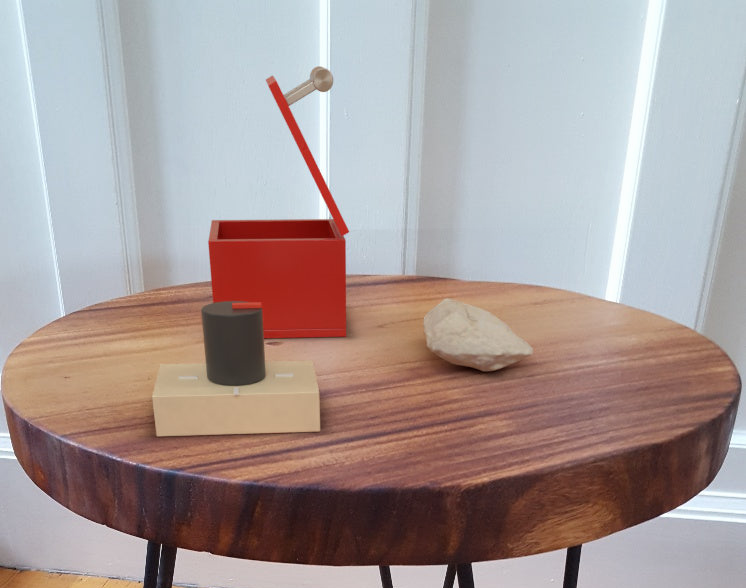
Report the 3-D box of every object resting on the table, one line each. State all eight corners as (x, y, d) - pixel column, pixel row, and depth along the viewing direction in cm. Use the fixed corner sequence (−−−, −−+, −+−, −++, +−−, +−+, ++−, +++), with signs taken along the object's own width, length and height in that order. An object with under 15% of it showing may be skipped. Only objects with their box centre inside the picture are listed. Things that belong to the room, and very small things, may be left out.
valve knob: (206, 386, 70) (199, 311, 67) (208, 368, 74) (201, 297, 71) (266, 384, 70) (262, 310, 68) (265, 367, 74) (261, 296, 71)
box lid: (268, 85, 81) (324, 51, 80) (265, 79, 91) (315, 49, 90) (341, 236, 88) (393, 206, 87) (332, 216, 98) (378, 189, 97)
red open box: (216, 339, 92) (208, 241, 87) (218, 310, 101) (211, 220, 97) (346, 336, 93) (345, 239, 88) (336, 308, 103) (335, 219, 98)
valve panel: (156, 438, 70) (151, 395, 68) (164, 400, 77) (159, 360, 75) (320, 433, 71) (319, 390, 69) (313, 396, 78) (312, 357, 76)
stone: (433, 381, 81) (436, 321, 79) (409, 340, 92) (410, 285, 90) (539, 378, 82) (546, 318, 80) (502, 337, 93) (506, 283, 91)
